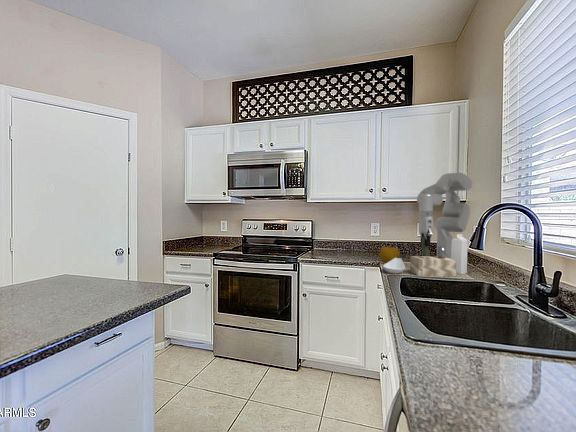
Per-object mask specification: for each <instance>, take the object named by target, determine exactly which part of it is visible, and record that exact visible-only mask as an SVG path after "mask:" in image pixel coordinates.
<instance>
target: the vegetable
mask: <svg viewBox="0 0 576 432" xmlns="http://www.w3.org/2000/svg"><path fill="white" fill-rule="evenodd" d="M427 234H429V233H427ZM421 244H422V245H421ZM420 245H421V251H422V252H421V254H422V255H421V256H430V253H429V246H425V234H424V236H423V237H422V242H421V241H420Z"/></svg>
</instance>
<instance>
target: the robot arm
mask: <svg viewBox="0 0 576 432" xmlns="http://www.w3.org/2000/svg"><path fill="white" fill-rule="evenodd" d="M472 186H473V181H472V179H471V178H470V177H469V176H468V175H466V174H465V173H462V172H449V173H444V174H442V175H441V176H440V178H439V179H438V180H437V181H436V183H435V184H434V183H433V184H432V185H429V186H427V187H426V188H423V189H422V190H421V191H420V192H419V193H418V195H417V196H416V203H417V205H418V217H419V219H418V232H419V236H420V246H422V244H421V242H422V237H423V236H424V234H425V246H428V247H431V240H432V236H433V234H435V233H434V230H435V226H436V257H438V247H446V257H448V258H451V243H452V239H454V236H453V234H452V233H463V232H465V231H466V229H467V226H468V223H469V219H470V215H471V208H470V205H469V204H468V203H464V202H461V197H460V196H459V194H458V193H456V192H460V191H461V192H462V191H464V192H465V191H469V190H471V189H472ZM444 194H445V202H444V204H443V201H444V198H443V195H444ZM442 204H443V207H442V212H441V213H442V215H443V216H440V217H438V218H436V221H435V224H434V207H438V206H440V205H442ZM434 225H435V226H434ZM451 232H452V233H451ZM427 233H428V234H427Z"/></svg>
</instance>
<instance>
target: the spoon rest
mask: <svg viewBox="0 0 576 432" xmlns="http://www.w3.org/2000/svg"><path fill="white" fill-rule="evenodd" d="M382 267H383V269H384V271H385V272H386V273H388V274H393V275H394V274H395V275H398V274H401V273H402V272H404V271H405V269H406V265H405V264H404V261H403V258H400V257H399V258H394V259H392V260H391V261H389V262H388V263H386V264H384V263H383V265H382Z"/></svg>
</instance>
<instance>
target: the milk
mask: <svg viewBox="0 0 576 432" xmlns="http://www.w3.org/2000/svg"><path fill="white" fill-rule="evenodd" d="M468 242H469V240H468V239H466V238H465V237H464V235H463V233H458V234H456V237H453V239H452V243H451V258H452V259H455V260H456V274H458V273H460V274H459V275H464V274H467V273H468V249H469V248H468V245H469V243H468Z"/></svg>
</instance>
